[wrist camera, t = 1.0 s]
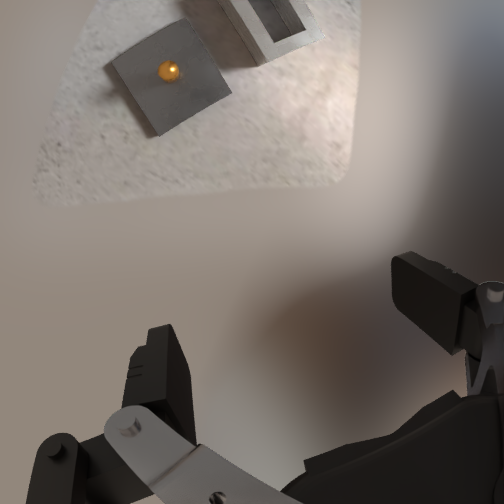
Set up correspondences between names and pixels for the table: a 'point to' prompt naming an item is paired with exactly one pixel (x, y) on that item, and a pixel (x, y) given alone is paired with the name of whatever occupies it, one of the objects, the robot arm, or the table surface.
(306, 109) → the table surface
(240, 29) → the silver frame
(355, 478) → the robot arm
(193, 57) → the grey peg base
